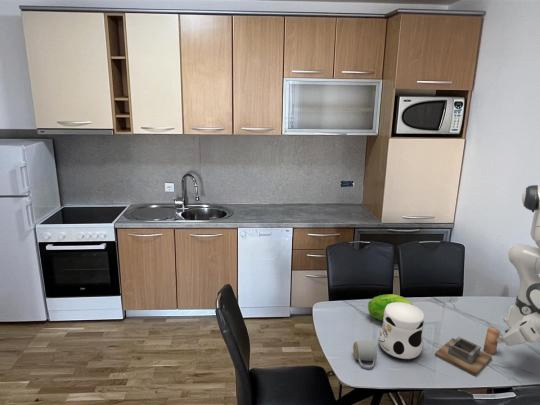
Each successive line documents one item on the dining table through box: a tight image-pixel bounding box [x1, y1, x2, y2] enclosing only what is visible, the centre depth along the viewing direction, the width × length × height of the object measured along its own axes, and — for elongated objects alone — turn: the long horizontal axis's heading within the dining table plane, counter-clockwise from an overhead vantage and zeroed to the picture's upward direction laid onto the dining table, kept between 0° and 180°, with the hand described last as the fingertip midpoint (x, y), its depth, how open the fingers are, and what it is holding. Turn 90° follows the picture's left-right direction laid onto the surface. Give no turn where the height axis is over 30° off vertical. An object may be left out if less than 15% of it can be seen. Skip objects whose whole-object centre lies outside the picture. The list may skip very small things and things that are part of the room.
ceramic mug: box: [352, 339, 378, 370], centre depth 155 cm, size 11×8×8 cm
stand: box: [434, 336, 493, 377], centre depth 159 cm, size 16×16×6 cm
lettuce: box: [367, 293, 413, 322], centre depth 185 cm, size 13×23×12 cm, turn 103°
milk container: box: [378, 302, 425, 360], centre depth 161 cm, size 17×17×18 cm
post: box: [483, 327, 501, 356], centre depth 163 cm, size 4×4×10 cm
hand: (502, 336), depth 159 cm, fingers open, 8 cm apart
